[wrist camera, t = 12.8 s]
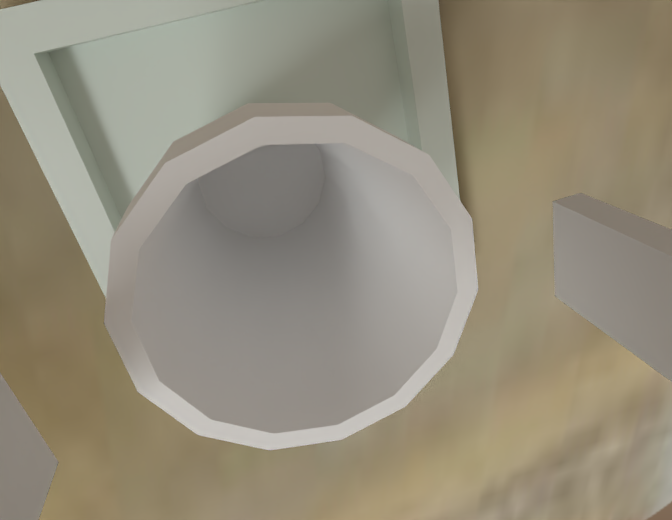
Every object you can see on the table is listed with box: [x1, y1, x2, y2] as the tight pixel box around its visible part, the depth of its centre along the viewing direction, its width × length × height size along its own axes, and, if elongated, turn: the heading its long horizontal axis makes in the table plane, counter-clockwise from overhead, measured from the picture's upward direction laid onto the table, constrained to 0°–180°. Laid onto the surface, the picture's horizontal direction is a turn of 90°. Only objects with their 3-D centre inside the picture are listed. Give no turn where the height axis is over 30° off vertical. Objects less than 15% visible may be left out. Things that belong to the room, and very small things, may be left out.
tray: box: [0, 0, 460, 298], centre depth 24 cm, size 18×18×3 cm
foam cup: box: [104, 103, 478, 450], centre depth 18 cm, size 10×9×13 cm
